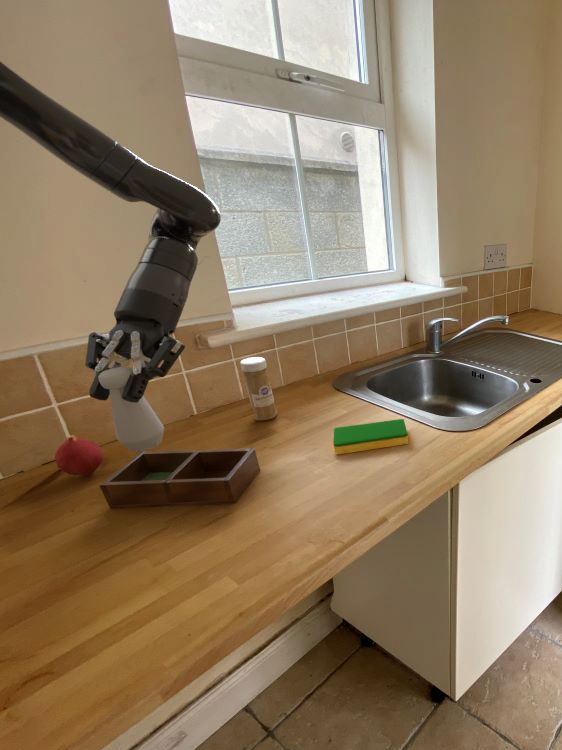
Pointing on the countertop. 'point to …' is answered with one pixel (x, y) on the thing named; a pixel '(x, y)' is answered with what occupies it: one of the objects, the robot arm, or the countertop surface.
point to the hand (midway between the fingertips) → (114, 399)
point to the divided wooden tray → (181, 478)
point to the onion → (78, 456)
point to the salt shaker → (131, 413)
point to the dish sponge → (370, 436)
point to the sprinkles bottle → (259, 388)
